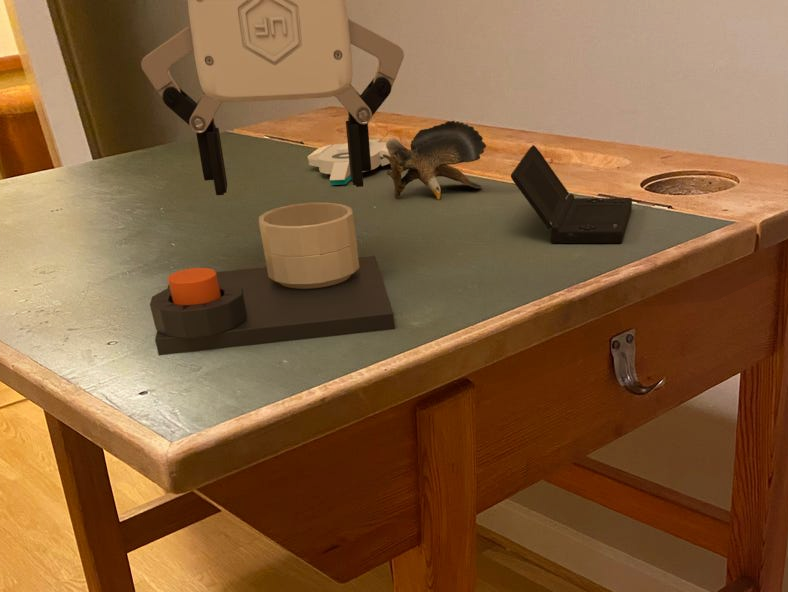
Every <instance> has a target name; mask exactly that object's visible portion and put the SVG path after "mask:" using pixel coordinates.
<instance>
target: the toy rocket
mask: <svg viewBox="0 0 788 592" xmlns="http://www.w3.org/2000/svg"><path fill="white" fill-rule="evenodd" d="M386 143H387V141H382V139H381V138H373V139H370V138H369V145H370V158H371V171H372V170H375V169H377V168H378V167H380V166H381V167H384V166H386V165H390V162H389V160H388V159H387V158H385V157H383V154H385V155H388V156H390V157H391V155H390V154H389V152H388V149H387V147H386ZM307 159H308V165H309V166H313V167H316V168H318V170H319V172H320V173H321V174H325V175H330V176H329V181H330V186H334V185H335V186H338V185H347V184H348V183H349V182H350V181H352V180H351V175H350V164H349V153H348V142H344V143H333V144H332V143H330V144H327V145H324V146H322V147H318V148H316V149H315V150H314V151H313V152H312V153H310V154H309V155H308V156H307ZM365 172H366V171H362V173H365Z"/></svg>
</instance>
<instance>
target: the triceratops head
mask: <svg viewBox="0 0 788 592" xmlns="http://www.w3.org/2000/svg"><path fill="white" fill-rule="evenodd" d="M483 139H484V138H483V136H482V135H480V133H479V131H478V130H476V129H475V127H474V126H471V125H469V124H468V123H464V122H460V121H455V120H451V121H450V120H447V121H445V123H441V124H437V125H433V126H432V127H429V128H424V129H420V130H418V132H417V133H416V134H415V136H414V137H413V139H412V140H411V141H410V149H408V148H407V147H406V146H404V145H403V144H402V143H400V141H399V140H398V139H396V138H390V139H389V140H387V141H386V142H387V143H386V147H387V149H388V152H389V154H390V155H391V157H390V156H388V155H385V154H383V157H385V158H387V159H388V160H389V162H390V163H389V165H390V168H391V170H387V171H386V175H387V176H389V177H390V178H391V179H392V181H393V184H394V194H393V195H394V198H395V199H397V198H399V197H401V193H403V192H404V190H405V188H406V186H407V185H408V184H409V183H412V182H413V181H415V180H419V181H420V182H421V183H423V184H424V185H425V186H427V188H429V189H430V190H431V191H432V193H433V194H434V195H435V197H436V200H440V199H441V191H442V190H441V186H440V184H439V181H438V180H437V177H438V178H439V177H441V178H443V177H444V178H447V179H450V180H452V181H455V182H459V183H462V184H464V185H466V186H468V187H470V188H473V189H475V190H476V189H478V190H481V189H483V186H482V185H480V184H478V183H475V182H473V181H471V180H470V179H469V178H468V177H467V176H466V175H465V174H464V173H463V172H462V171H461V170H459V168H456V167H454V166H452V165H458V164H462V163H472V162H475V161H478V160H480V159H481V155H482V154H484V153H485V149H486V148H487V144H486V143H485V142H484V141H483ZM405 171H406V173H405V174H404V176H402V173H403V172H405Z"/></svg>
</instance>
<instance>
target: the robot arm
mask: <svg viewBox="0 0 788 592" xmlns="http://www.w3.org/2000/svg"><path fill="white" fill-rule="evenodd" d="M346 2H347V1H346V0H187V8H188V16H189V25H188V26H186V27H185V28H183V29H182V30H181V31H179V32H177V33H176V34H174V35H173V36H171V37H170V38H169V39H168V40H166V41H165V42H164V43H161V45H159V46H157V47H156V48H155V49H153V50H152V51H151V52H149V53H147V54H146V55H145V56H144V57H143V58H142V60H141V62H140V67H141V69H142V71H143V72H144V74H145V75H146V78H147V79H148V80H149V82H150V83H151V85H152V86H153V87H154V89H155V91H156V92H157V93H158V95H159V96H160V97H161V99H162V101H163V103H164V105H165V106H166V107H168V109H170V110H171V111H172V112H173V113H174V114H176V116H178V117H179V118H180V119H181V120H182V121H184V122H185V123H186V124H187V125H188V126H189V127H190V128H191V130H192V131H193V132H195V134H196V135H195V136H196V140H197V146H198V152H199V158H200V162H201V170H202V175H203V180H204V181H213V185H214V190H215V195H216V196H224V195H225V194H227V190H228V178H227V173H226V165H225V161H224V160H225V159H224V153H223V147H222V141H221V134H220V129H219V128H220V127H216V124H215V119H214V118H215V116H216V114H217V112H218V111H219V109H220V108H221V106H222V105H223V103H224V102H226V103H247V102H249V103H251V102H269V101H270V102H271V101H288V100H307V99H308V100H309V99H323V98H331V97H332V98H333V97H335V98H336V99H337V100H338V102H339V103H340V104H341V105H342V106H343V107H344V108H345V109H346V111H347V116H348V118H347V120H345V129H346V141H347V142H348V153H349V164H350V175H351V180H350V181H351V183H352V185H353V186H355V187H356V188H359V187H360V188H361V187H364V176H363V173H364V172H362V171H365V172H371V171H372V170H371V158H370V145H369V139H370V134H369V123H370V122H371V121H372V118H373V116H374V115H375V113H376V112H377V111H378V110H379V109H380V107H381V106H382V105H383V103H384V102H385V101H386V100H387V98H388V97H389V96H390V95H391V92H392V89H393V85H394V83H395V81H396V78H397V75H398V73H399V71H400V68H401V66H402V62H403V60H404V57H405V54H404V53H405V52H404V50H403V48H402V47H400V46H399V45H398V44H397V43H394V42H393V41H392V40H389V39H387V38H386V37H383V36H382V35H380V34H378V33H376V32H374V31H373V30H371V29H369V28H367V27H365V26H363V25H361V24H359V23H358V22H355V21H354V20H352V19H350V18H349V17H348V9H347V3H346ZM352 45H353V46H355V47H356V48H358V49H360V50H362V51H364V52H365V53H368V54H370V55H372V56H373V57H376V58H377V59H378V66H377V68H376V72H375V74H374V77H373V78H372V79H371V80H370V82H369V84H368V85H367V86H366V87H365V89H364V90H363V91H362V93H361V94H360V93H359V91H358V90H357V89H356V88H355V87H354V86H353V84H352V82H353V73H354V71H353V55H352ZM192 52H193V54H194V55H193V56H194V61H195V67H196V72H197V76H198V77H197V78H198V82H199V85H200V88H201V89H202V91H203V92H202V94H201V95H200V97H199V99H198V101H197V102H196V101H195V100H194V99H193V98H192V97H190V95H188V94H187V93H186V92H185V91H184V90H183V89H182V88H181V87H179V86H178V84H177V83H176V81H175V80H174V77H173V76H172V75H171V72H170V68H171V67H172V66H173V65H174V64H176V63H177V62H180V60H182V59H183V58H185V57H186V56H188V55H190V54H191V53H192ZM347 142H346V143H347Z"/></svg>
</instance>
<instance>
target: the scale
mask: <svg viewBox="0 0 788 592" xmlns="http://www.w3.org/2000/svg"><path fill="white" fill-rule="evenodd" d="M358 260H359V269H358V270H357V271H356V272H355V273H354V274H352V275H351V276H350V278H348V279H347V280H345V281H343V282H341V283H338V284H335V285H332V286H327V287H321V288H312V289H297V288H289V287H285V286H283V285H281V284H279V282H276V281H274V280H272V279H271V278H269V276H268V272H267V266H263V267H252V268H243V269H241V268H240V269H234V270H232V269H231V270H224V271H223V270H222V271H215V272H216V274H217V279H218V284H219V289H220V294H221V297H220V298H219V299H217V300H214V301H211V302H207V303H204V304H194V305H177V304H174V303H173V299H172V295H171V291H170V286H169V283H168V284H167V288H165V289H164V290H161V291H160V292H157V293H156V294H155V295H153V296H152V297H151V299H150V303H149V307H150V311H151V316H152V319H153V323H154V327H155V330H156V334H155V338H154V342H155V346H156V349H157V353H158V356H166V355H175V354H183V353H184V354H185V353H194V352H195V353H196V352H202V351H211V350H221V349H229V348H240V347H249V346H257V345H266V344H267V345H268V344H274V343H275V344H276V343H283V342H285V343H286V342H293V341H300V340H301V341H302V340H310V339H311V340H313V339H321V338H328V337H330V338H331V337H338V336H339V337H340V336H347V335H355V334H364V333H366V334H367V333H373V332H374V333H375V332H383V331H392V330H396V327H395V317H394V311H393V308H392V305H391V302H390V298H389V296H388V292H387V288H386V286H385V282H384V279H383V276H382V273H381V271H380V268H379V267H380V266H379V264H378V261H377V258H376V255H368V256H358Z"/></svg>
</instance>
